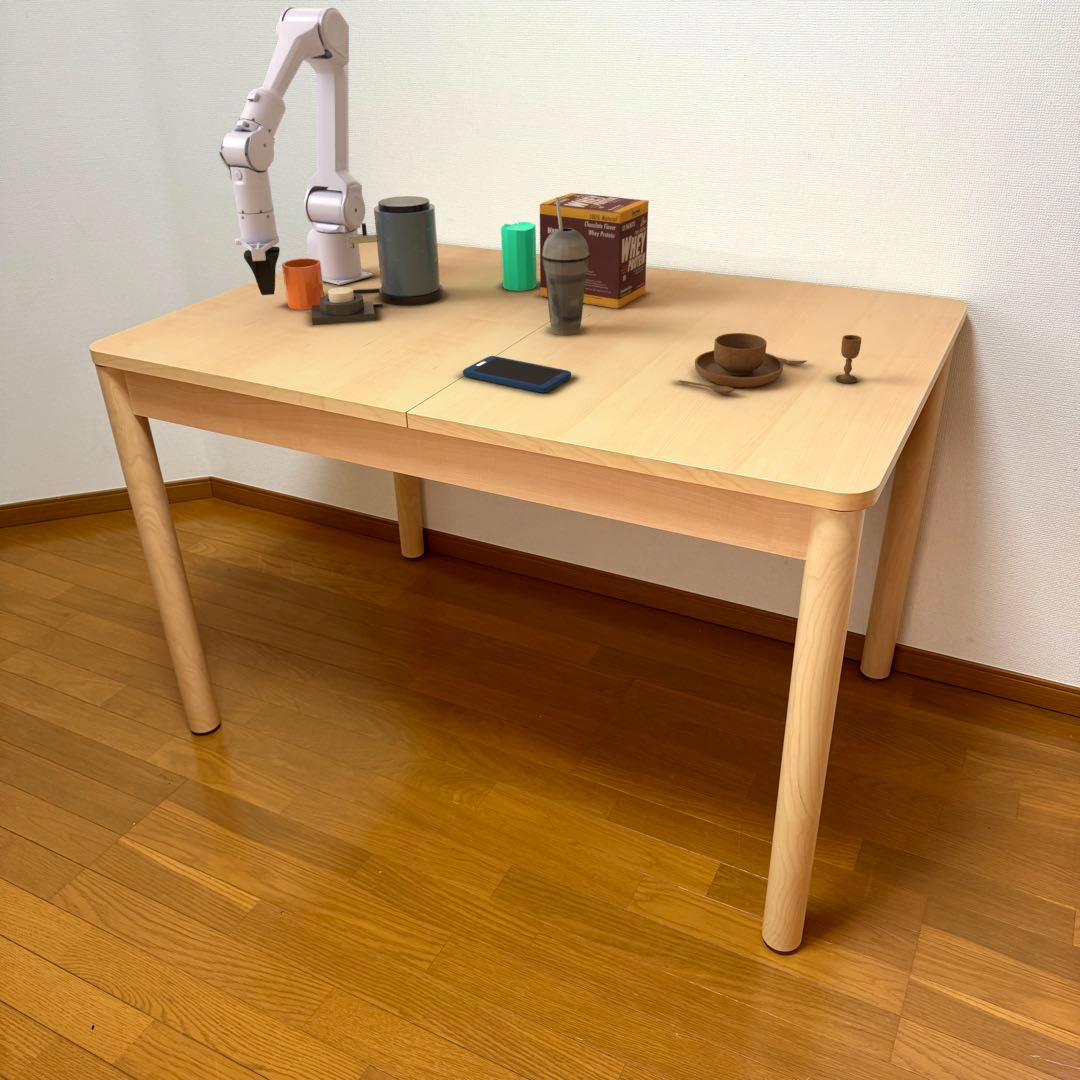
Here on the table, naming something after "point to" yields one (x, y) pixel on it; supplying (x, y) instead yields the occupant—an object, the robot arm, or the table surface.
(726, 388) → the place setting
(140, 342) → the table surface
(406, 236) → the dispenser
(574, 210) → the supplement box
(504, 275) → the candle
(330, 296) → the button
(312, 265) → the cup
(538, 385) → the cell phone
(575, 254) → the beverage cup
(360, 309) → the button block
